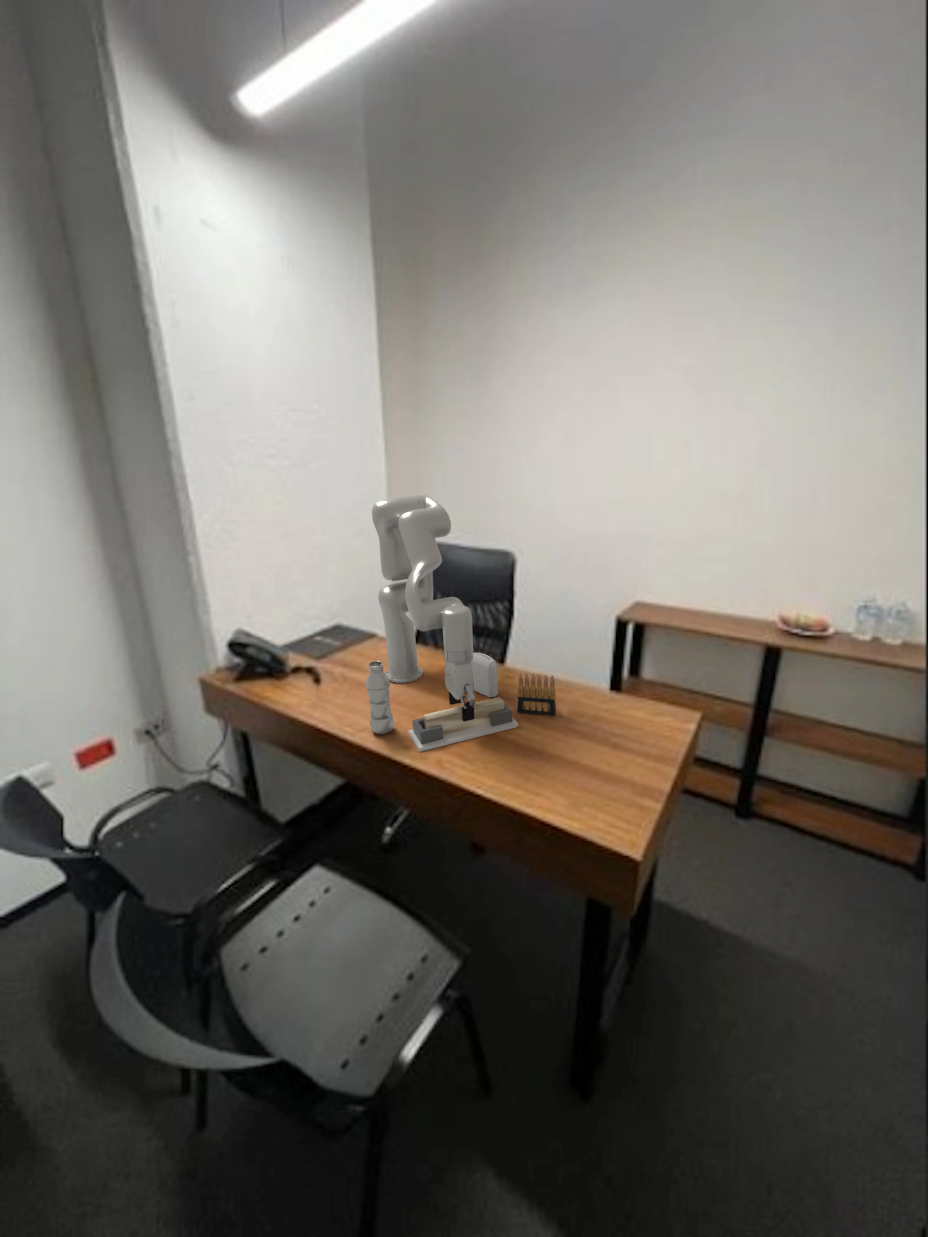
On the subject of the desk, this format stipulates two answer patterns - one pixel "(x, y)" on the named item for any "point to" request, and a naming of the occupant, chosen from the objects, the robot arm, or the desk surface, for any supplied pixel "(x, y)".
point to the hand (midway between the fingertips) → (461, 711)
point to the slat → (453, 716)
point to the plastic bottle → (379, 699)
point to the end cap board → (435, 736)
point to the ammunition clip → (536, 696)
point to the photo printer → (485, 675)
